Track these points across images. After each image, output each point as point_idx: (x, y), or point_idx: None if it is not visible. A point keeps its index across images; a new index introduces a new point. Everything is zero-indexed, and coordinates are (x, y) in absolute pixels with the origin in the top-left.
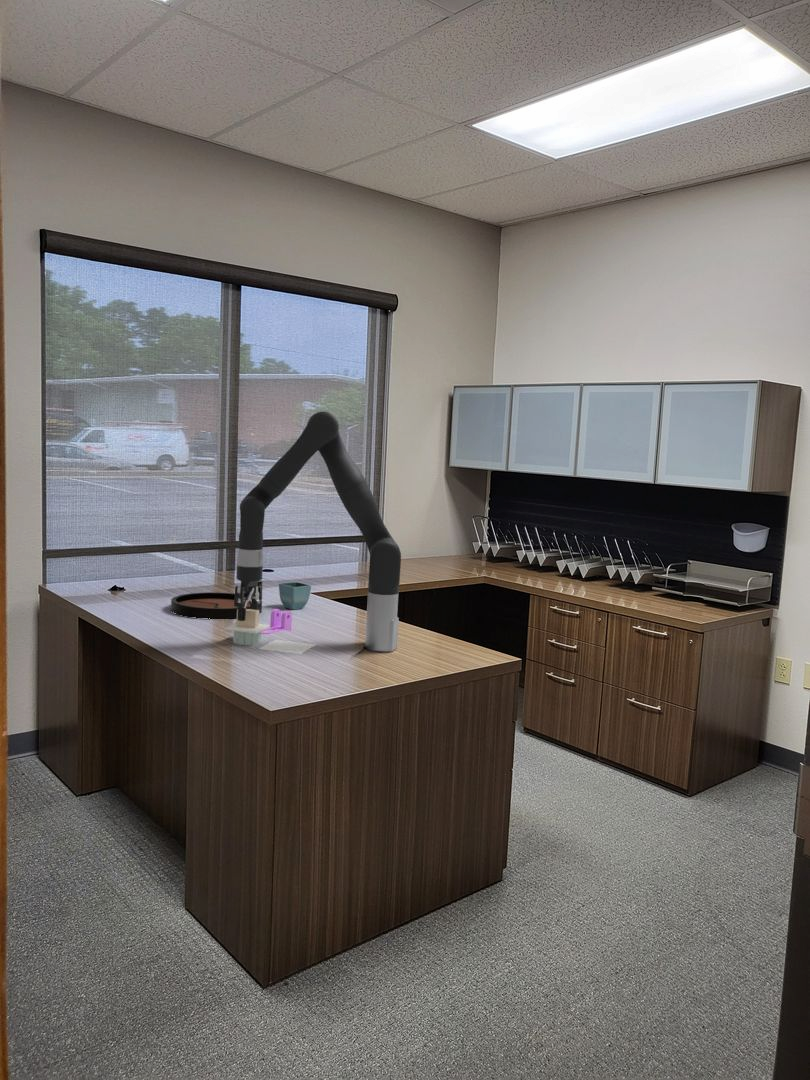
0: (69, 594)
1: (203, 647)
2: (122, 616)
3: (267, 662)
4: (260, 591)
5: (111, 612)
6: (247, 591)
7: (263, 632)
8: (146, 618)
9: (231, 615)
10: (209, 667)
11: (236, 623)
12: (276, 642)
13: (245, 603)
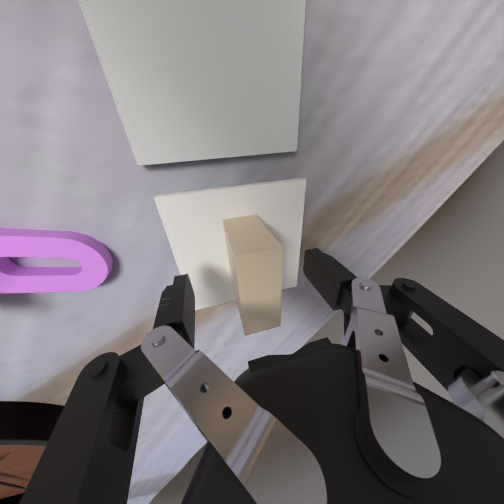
0: (143, 499)
1: (299, 279)
2: (190, 437)
3: (400, 42)
4: (91, 454)
5: (181, 450)
6: (435, 399)
7: (91, 258)
8: (175, 427)
9: (14, 414)
10: (443, 176)
11: (224, 299)
12: (178, 136)
13: (378, 298)
